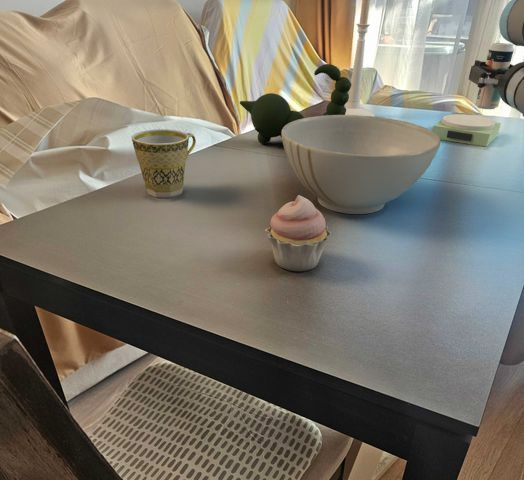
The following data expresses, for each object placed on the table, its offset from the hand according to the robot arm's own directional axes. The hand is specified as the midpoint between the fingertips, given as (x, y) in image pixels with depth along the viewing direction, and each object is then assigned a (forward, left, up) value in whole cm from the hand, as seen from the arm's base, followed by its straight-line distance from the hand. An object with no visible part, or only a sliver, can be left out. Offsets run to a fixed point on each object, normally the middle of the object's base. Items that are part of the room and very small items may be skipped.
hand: (488, 67), depth 111 cm
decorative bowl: (+10, +47, -18) cm, 51 cm away
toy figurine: (+37, +21, -18) cm, 46 cm away
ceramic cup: (+41, +61, -18) cm, 76 cm away
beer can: (-3, +5, -7) cm, 9 cm away
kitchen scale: (+4, -14, -18) cm, 23 cm away
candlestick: (+37, -16, -18) cm, 44 cm away
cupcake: (+7, +74, -18) cm, 76 cm away
